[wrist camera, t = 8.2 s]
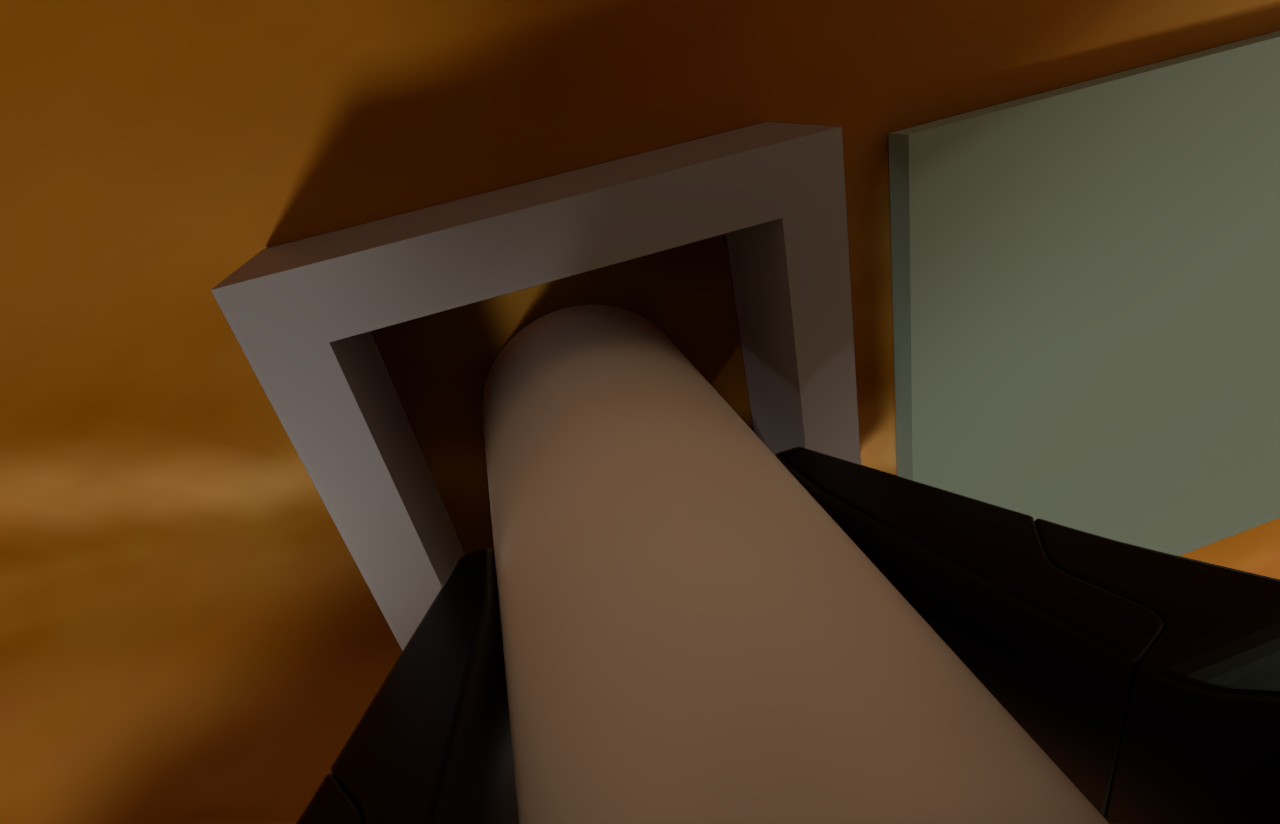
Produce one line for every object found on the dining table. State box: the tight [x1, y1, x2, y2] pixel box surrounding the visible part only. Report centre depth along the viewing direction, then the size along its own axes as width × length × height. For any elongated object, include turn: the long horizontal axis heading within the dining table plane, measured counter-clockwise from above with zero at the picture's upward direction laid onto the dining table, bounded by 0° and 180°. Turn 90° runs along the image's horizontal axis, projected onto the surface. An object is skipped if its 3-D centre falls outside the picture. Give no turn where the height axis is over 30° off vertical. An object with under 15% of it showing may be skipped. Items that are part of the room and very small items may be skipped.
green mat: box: [888, 30, 1280, 556], centre depth 15 cm, size 13×13×1 cm
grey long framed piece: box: [211, 122, 861, 651], centre depth 14 cm, size 22×8×5 cm, turn 12°
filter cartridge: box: [482, 304, 1109, 824], centre depth 8 cm, size 5×5×11 cm
